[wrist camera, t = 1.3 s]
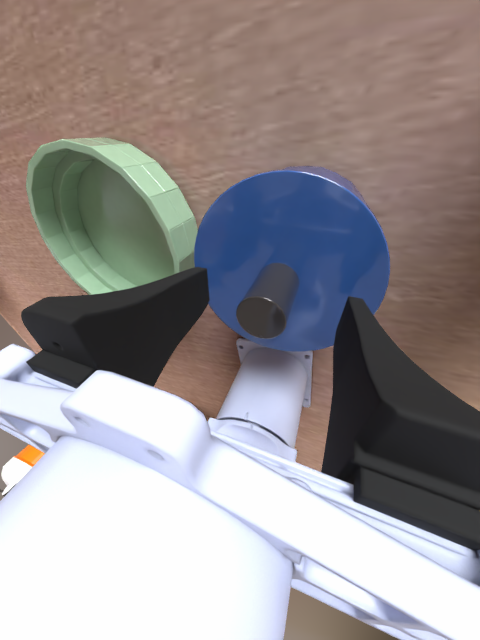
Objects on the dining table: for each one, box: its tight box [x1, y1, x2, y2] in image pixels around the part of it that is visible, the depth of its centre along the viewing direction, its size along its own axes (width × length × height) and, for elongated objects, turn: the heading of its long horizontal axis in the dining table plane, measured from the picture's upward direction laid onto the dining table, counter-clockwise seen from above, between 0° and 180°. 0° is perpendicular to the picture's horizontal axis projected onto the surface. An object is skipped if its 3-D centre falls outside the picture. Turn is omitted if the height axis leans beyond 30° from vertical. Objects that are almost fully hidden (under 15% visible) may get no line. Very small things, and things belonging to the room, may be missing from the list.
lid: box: [194, 169, 390, 352], centre depth 12 cm, size 11×11×5 cm
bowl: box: [26, 138, 198, 295], centre depth 21 cm, size 14×14×4 cm
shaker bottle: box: [0, 445, 45, 497], centre depth 46 cm, size 9×9×20 cm
